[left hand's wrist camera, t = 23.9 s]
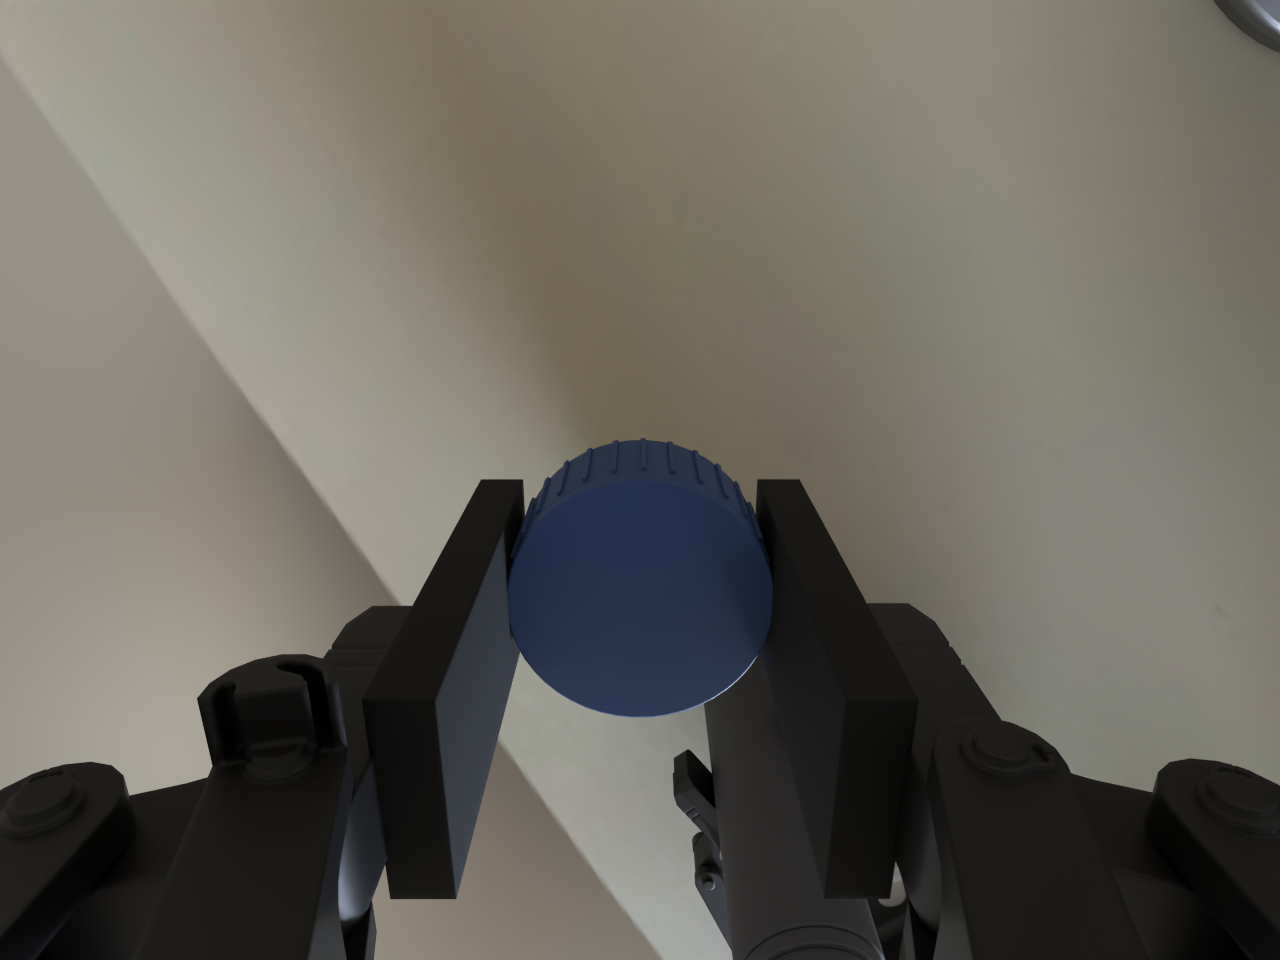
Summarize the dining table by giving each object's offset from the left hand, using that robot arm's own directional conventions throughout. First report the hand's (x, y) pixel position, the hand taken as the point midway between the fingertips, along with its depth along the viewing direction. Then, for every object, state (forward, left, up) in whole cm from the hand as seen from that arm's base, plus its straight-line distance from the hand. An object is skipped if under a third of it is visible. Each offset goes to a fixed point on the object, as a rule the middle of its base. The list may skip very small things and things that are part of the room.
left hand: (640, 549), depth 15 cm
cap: (0, 0, +2) cm, 2 cm away
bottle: (+18, -6, -21) cm, 28 cm away
